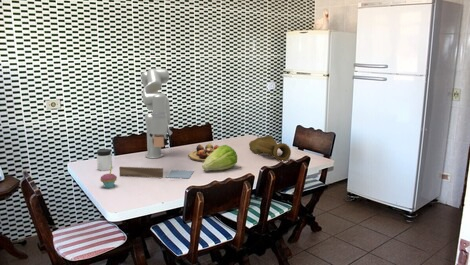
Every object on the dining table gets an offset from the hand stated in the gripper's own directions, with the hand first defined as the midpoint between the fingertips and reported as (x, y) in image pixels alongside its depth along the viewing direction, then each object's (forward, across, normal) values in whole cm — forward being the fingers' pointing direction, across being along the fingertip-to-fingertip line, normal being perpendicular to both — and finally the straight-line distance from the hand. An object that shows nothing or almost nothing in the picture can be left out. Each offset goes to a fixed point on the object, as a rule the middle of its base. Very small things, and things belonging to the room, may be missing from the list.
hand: (160, 144), depth 229 cm
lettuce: (+18, +34, +14) cm, 41 cm away
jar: (+18, -38, +3) cm, 42 cm away
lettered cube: (+1, 0, 0) cm, 1 cm away
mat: (+18, +13, -2) cm, 22 cm away
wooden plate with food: (+18, +23, +42) cm, 52 cm away
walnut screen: (+18, -9, -9) cm, 22 cm away
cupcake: (+18, -21, -28) cm, 39 cm away
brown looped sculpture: (+18, +65, +49) cm, 83 cm away
